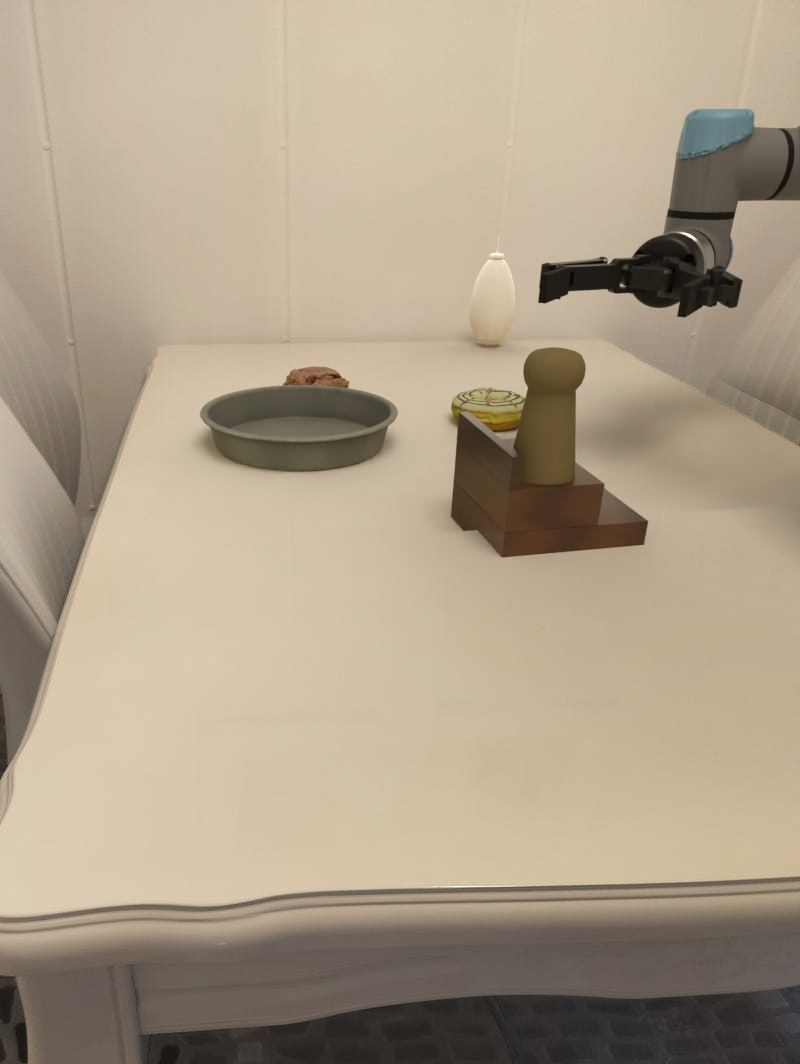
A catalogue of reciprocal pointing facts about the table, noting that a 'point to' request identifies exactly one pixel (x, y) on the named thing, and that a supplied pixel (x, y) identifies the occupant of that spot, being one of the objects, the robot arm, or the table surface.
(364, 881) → the table surface
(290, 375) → the cookie
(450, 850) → the table surface
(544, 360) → the olive tall knobbed cone
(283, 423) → the cake pan
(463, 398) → the decorated donut
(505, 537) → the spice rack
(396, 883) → the table surface
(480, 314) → the sauce bottle
